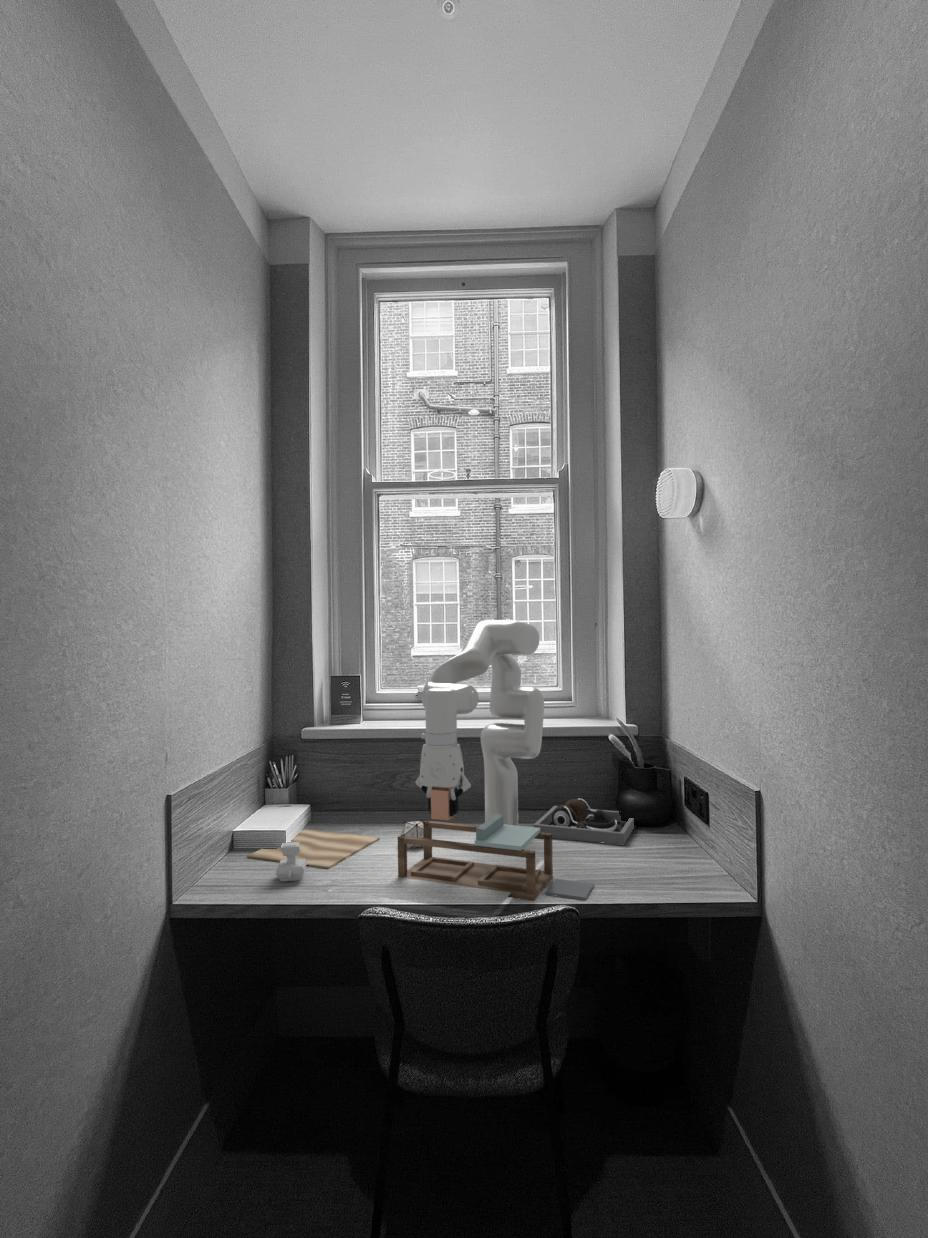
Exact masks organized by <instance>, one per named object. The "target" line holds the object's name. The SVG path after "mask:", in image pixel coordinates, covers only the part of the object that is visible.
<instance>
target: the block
mask: <svg viewBox="0 0 928 1238" xmlns="http://www.w3.org/2000/svg"><path fill="white" fill-rule="evenodd" d="M450 800H451V795H450V791H449V788H437V787H434V788H433V789H431V814H430V816H431V820H439V821H440V820H441V821H450V820H451V819H452V818H454V817H455V816H456V814H455V815H454V816H453V817H451V816H450V809H449V801H450Z"/></svg>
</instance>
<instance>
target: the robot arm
mask: <svg viewBox="0 0 928 1238" xmlns="http://www.w3.org/2000/svg"><path fill="white" fill-rule="evenodd" d="M539 645H540V634H539V631H538V630H537V627H536V626H534V625H533V624H530V623H527V622H522V621H520V620H514V619H513V620H512V619H495V620H494V619H491V620H483V621H482V620H481V621H479V622H478V623H477V624H476V625H475V626H474V628H473V629H472V632H471V633H470V635H469V636H468V639H467V640H466V642H465V644H464V646H463V648H462V649H461V651H460V652H459V653H458V654H456V655H455V656H453V657H451V658H449V659H447V660H446V661H444V662H443V663H441V664H439V665H438V667H437V666H436V668H435V669H434V670H433V671H432V673H431V674H430V676H429V677H428V679H427V681H426V683H425V685H424V686H423V690H422V694H421V703H422V707H423V708H424V711H425V732H423V733H421V735H420V738H421V739H422V740H425V741H424V742H425V743H424V744H422V749H421V754H420V766H419V775H418V776H417V778H416V780H415V782H414V783H415V784H416V786H417V787H418V788H420V789H421V790H422V792H423V793H424V794H425V796H426V798H427V802H428V810H429V814H430V815H431V789H433V788H434V787H437V788H449V791H450V795H451V800H450V801H449V809H450V816H451V817H453V816H454V815H455V814H458V812H459V798H460V796H462V794H463V793H464V792H466V791H467V790H468V789H470V788H471V786H472V784H471V783H470V781H469V779H468V778H467V777H466V775H465V769H464V768H465V766H464V759H463V753H462V749H461V744H459V743H458V721H457V720H458V719H457V717H458V715H468V714H470V713H472V712H473V711H474V710H475V709H476V708H477V707H478V704H479V698H480V697H479V693H478V690H477V689H476V688H475V687H474V686H472V685H470V684H468V683H460V682H464V681H467V680H470V679H474V678H476V677H479V676H481V675H483V674H485V673H486V672H487V671H488V670H489V668H490V666H491V683H490V684H491V685H490V694H489V713H490V714H491V716H493V717H494V718H497V719H503V720H518V721H519V720H523V722H524V724H523V723H521V724H520V723H509V722H506V723H503V722H495V723H489V724H487V725H486V726H484V727H483V729H482V730H481V733H480V745H481V751H482V756H483V757H482V758H483V766H484V767H483V768H484V771H483V772H484V823H485V822H486V821H487V820H489V819H490V818H491V817H493V816H494V815H495V814H497V815H503V824H506V825H516V826H519V817H520V815H519V797H518V796H519V791H518V790H519V788H518V787H519V785H518V784H519V781H518V779H519V778H518V777H519V776H518V775H519V774H518V770H517V767H516V765H515V763H514V762H513V760H512V758H513V759H515V758H516V759H526V760H530V759H531V760H532V759H535V758H536V757H538V756H539V754H540V752H541V750H542V744H543V743H542V742H543V728H544V717H545V716H544V715H545V700H544V699H545V698H544V695H543V692H542V691H541V690H539V688H537V687H534V686H521V681H522V680H521V678H522V670H521V666H520V665H519V663H518V662H517V660H516V659H515V657H514V656H513V655H532V654H534V653H535V652H536V651H537V650H538V647H539ZM461 784H462V786H461V787H459V786H460V785H461ZM455 816H456V815H455ZM455 816H454V817H455ZM454 817H453V818H454Z"/></svg>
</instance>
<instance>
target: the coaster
mask: <svg viewBox="0 0 928 1238" xmlns="http://www.w3.org/2000/svg"><path fill="white" fill-rule="evenodd" d="M594 887H595V883H593V882H586V881H578V880H577V881H576V880H571V879H563V878H554V880H553V881H552V883H551V884H550V885H549V887H548V888H547V889H546V890H545V891H544V892H545V894H546V896H551V895H557V896H556V897H558V896H561V897H560V898H566V897H568V898H567V899H573V898H575V900H582V901H586V900H587V898H588V897H589V895H590V893H591V892H592V890H593V889H594ZM592 888H593V889H592Z"/></svg>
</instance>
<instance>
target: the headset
mask: <svg viewBox="0 0 928 1238" xmlns="http://www.w3.org/2000/svg"><path fill="white" fill-rule="evenodd" d="M557 806H558V807H556V808H555V810H554V812H553V814H552V825H554V826H564V827H574V828H584V829H594V830H604V831H615V830H616V829H617V827H618V826H617V825H618V823H617V821H619V820H617V819H616V818H614V817H613V816H611V815H609V814H606V813H605V812H604V811H603V810H604V809H597V811H594V810H591V809H592V808H591V807H590V805H589V804H588V802H587V801H586V800H584V799H583V798H571V799H568V800H567V801H566V802H565V803H564V804H561V805H557ZM588 809H589V810H588ZM588 812H590V813H592V812H593V813H594V815H588V816H587V814H588ZM589 816H593V817H594V819H595V820H596V821H595V822H601V821H602V823H590V822H587V820H586V819H587V818H588V817H589ZM616 820H617V821H616ZM619 822H620V823H619V824H620V826H621V828H623V827H624V825H625V824H626V821H622V822H621V821H619Z"/></svg>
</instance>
